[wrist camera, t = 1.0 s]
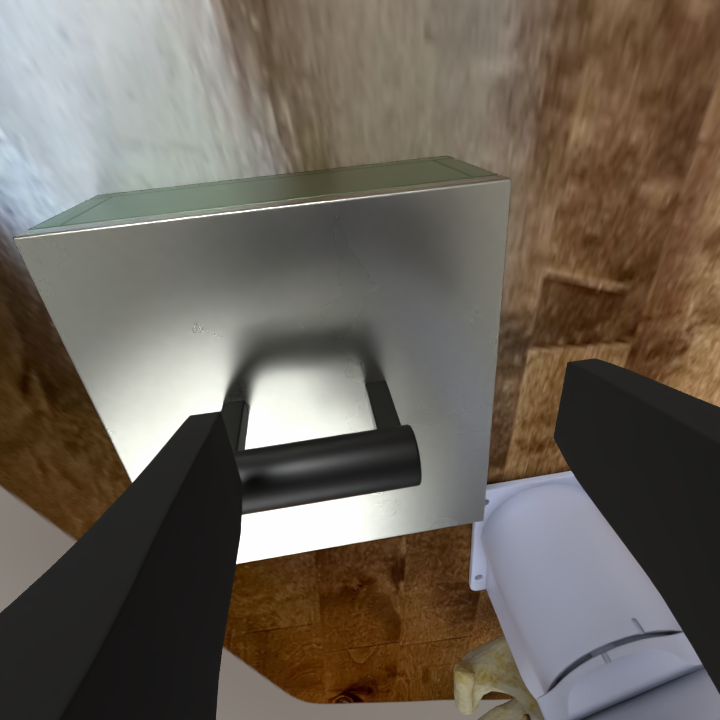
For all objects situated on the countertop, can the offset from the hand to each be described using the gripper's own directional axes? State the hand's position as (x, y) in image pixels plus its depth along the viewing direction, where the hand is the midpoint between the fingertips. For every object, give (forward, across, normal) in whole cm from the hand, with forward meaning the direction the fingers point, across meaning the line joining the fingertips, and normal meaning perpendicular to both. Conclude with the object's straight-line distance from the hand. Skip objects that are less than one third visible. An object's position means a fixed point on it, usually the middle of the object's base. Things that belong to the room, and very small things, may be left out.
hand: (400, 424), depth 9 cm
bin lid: (+5, +2, +3) cm, 6 cm away
